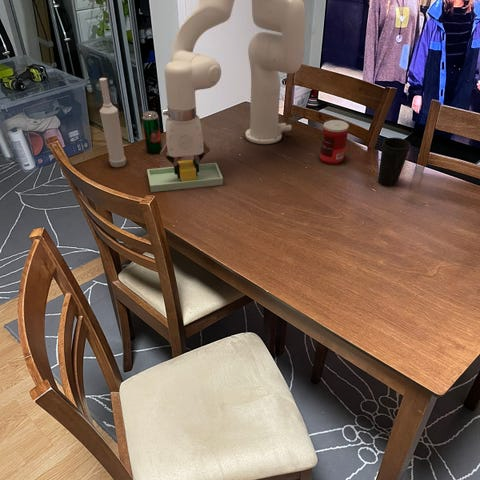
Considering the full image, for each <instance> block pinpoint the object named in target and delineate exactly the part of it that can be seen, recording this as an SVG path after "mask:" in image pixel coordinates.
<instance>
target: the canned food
mask: <svg viewBox="0 0 480 480" xmlns="http://www.w3.org/2000/svg"><path fill="white" fill-rule="evenodd" d="M349 125H350V124H349V123H347V121H344V120H339V119H330V120H326V121H325V122H324V123H323V127H322V132H321V133H322V134H321V140H320V141H321V142H320V150H319V159H320V161H321V162H322V163H324V164H327V165H336V164H337V165H338V164H340V163H342V162H343V160H344V157H345V152H346V146H347V139H348V135H349V128H350V126H349Z"/></svg>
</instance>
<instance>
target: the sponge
mask: <svg viewBox="0 0 480 480" xmlns="http://www.w3.org/2000/svg"><path fill="white" fill-rule="evenodd" d="M178 163H179V167H180V168H179V170H180V180H181V182H182V181H192V180H197V179H196V169H195V166H194V164H193V159H186V160H178Z"/></svg>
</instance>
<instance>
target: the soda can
mask: <svg viewBox="0 0 480 480" xmlns="http://www.w3.org/2000/svg"><path fill="white" fill-rule="evenodd" d="M141 119H142V128H143V136H144V142H145V143H144V144H145V150H146V151H147V153H150V154H160V152H161V150H162V149H163V145H162V136H161V127H160V118H159V115H158V112H156V111H154V110H148V111H144V112H143V113H142V116H141Z"/></svg>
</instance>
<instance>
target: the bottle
mask: <svg viewBox="0 0 480 480" xmlns="http://www.w3.org/2000/svg"><path fill="white" fill-rule="evenodd" d="M108 83H109V82H108V78H107V77H100V78H99V85H100V89H101V95H102V101H103V103H102V107H101V108H100V109H99V114H100V115H99V116H100V119H101V122H102V128H103V129H102V130H103V133H104V138H105V143H106V147H107V152H108V156H109V158H108V161H109V164H110V166H111V167H113V168H121V167H124V166H126V164H127V158H126V156H125V151H124V143H123V137H122V130H121V122H120V118H119V117H120V116H119V115H120V114H119V109H118V107H116V106H115V105H113V103H112V102H111V97H110V91H109V85H108Z"/></svg>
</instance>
